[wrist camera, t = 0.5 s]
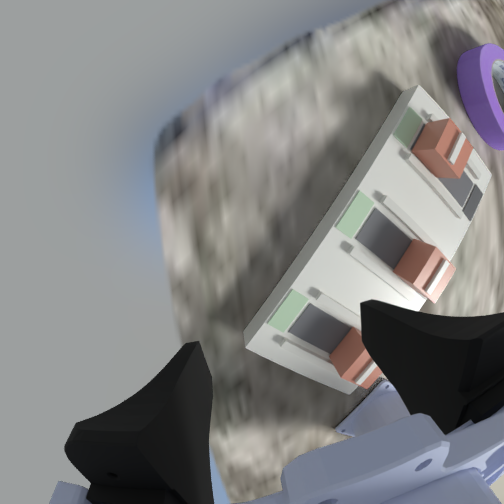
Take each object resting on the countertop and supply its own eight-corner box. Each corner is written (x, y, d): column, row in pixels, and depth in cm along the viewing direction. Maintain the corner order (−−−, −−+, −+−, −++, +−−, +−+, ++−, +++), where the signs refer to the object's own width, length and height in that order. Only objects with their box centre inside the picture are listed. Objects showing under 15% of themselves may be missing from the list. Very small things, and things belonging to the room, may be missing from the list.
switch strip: (474, 173, 21) (496, 175, 18) (340, 379, 25) (352, 399, 22) (402, 91, 19) (423, 82, 16) (243, 331, 23) (245, 352, 20)
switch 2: (449, 149, 18) (476, 147, 15) (435, 177, 18) (462, 179, 15) (426, 122, 17) (452, 117, 14) (411, 151, 18) (437, 148, 14)
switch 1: (377, 341, 21) (395, 361, 18) (354, 369, 21) (368, 391, 18) (353, 326, 20) (370, 347, 17) (328, 356, 21) (341, 380, 18)
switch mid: (434, 259, 20) (458, 270, 17) (414, 290, 20) (437, 305, 17) (413, 238, 19) (438, 247, 16) (392, 271, 20) (415, 285, 16)
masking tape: (503, 65, 18) (523, 60, 15) (520, 154, 21) (542, 155, 17) (443, 39, 18) (466, 28, 14) (466, 145, 21) (493, 144, 17)
